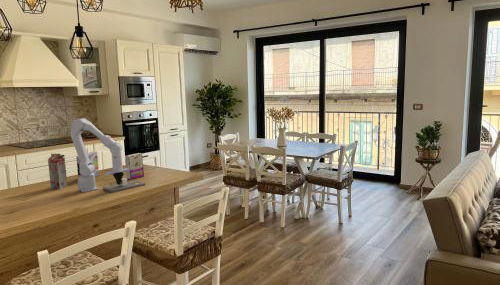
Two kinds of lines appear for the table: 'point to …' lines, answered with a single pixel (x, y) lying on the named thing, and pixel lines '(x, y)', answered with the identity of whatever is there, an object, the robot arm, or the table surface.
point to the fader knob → (123, 182)
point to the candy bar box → (134, 166)
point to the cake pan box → (94, 159)
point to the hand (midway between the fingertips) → (118, 184)
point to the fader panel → (119, 188)
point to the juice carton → (57, 171)
